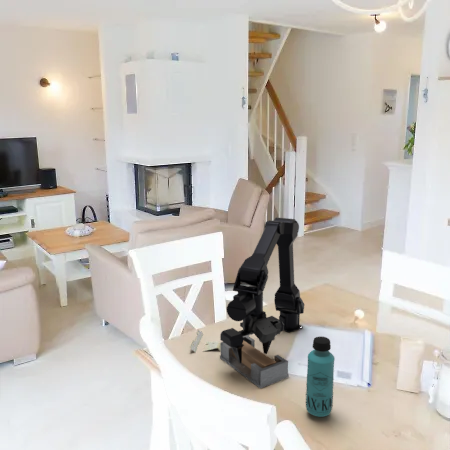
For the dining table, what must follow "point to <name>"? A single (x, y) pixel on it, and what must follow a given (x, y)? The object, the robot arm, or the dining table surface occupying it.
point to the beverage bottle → (320, 378)
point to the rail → (254, 356)
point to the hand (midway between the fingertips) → (252, 358)
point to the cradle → (256, 367)
